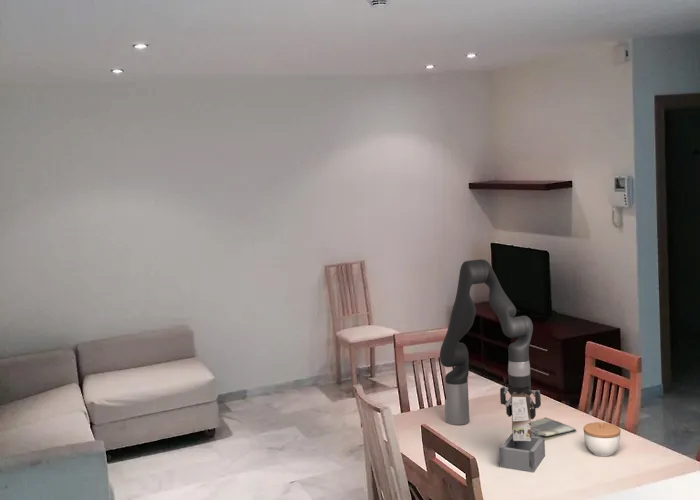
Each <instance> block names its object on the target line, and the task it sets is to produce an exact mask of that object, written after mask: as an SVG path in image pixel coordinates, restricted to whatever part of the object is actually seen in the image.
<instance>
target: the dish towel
mask: <svg viewBox="0 0 700 500" xmlns="http://www.w3.org/2000/svg"><path fill="white" fill-rule="evenodd" d="M576 432H577V429H576V428H574V427H573V426H570V425H569V424H564V423H562V422H560V421H557V420H554V419H551V418H548V417H542V418H539V419H536V420H531V436H536V437H544V438H545V441H548V440H552V439H556V438H558V437H563V436H567V435H570V434H575V433H576Z"/></svg>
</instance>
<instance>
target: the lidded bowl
mask: <svg viewBox="0 0 700 500" xmlns="http://www.w3.org/2000/svg"><path fill="white" fill-rule="evenodd" d="M583 436H584V437H583V438H584V441H585V442H584V443H585V444H586V447H587V448H588V449H589V450H590V452H591V453H592V454H593V455H595V456H599V457H611V456H613V455H614V453H615V452H616V451H617V450H618V448H619V447H620V442H621V428H620V427H619V426H618V425H616V424H613V423H609V422H601V421H599V422H590V423H587V424H585V425H584V426H583Z"/></svg>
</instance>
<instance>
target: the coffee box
mask: <svg viewBox="0 0 700 500" xmlns="http://www.w3.org/2000/svg"><path fill="white" fill-rule="evenodd" d="M510 397H511V410H512V415H511V428H512V433H513V441H531V421H532V419H531V416H530V409H531V408H530V397H531V395H527V394H525V395H520V394H513V393H511V395H510Z"/></svg>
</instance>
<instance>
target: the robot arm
mask: <svg viewBox="0 0 700 500" xmlns="http://www.w3.org/2000/svg"><path fill="white" fill-rule="evenodd" d="M459 269H460V270H459V275H458V281H457V289H456V295H455V299H454V304H453V306H452V310H451V314H450V318H449V323H448V327H447V331H446V334H445V337H444V340H443V342H442V345H441V347H440V351H439V361H440V363H441V365H442V366H443V367H446V368H452V367H453V369H452V370H450V371H448V373H446V374H445V378H444V379H445V380H444V381H445V398H446V399H444V414H445V415H444V416H445V423H448V424H450V425H454V426H461V425H463V426H464V425H467V424H468V423H470V420H471V419H470V404H469V403H470V402H469V401H470V400H469V381H468V380H469V379H468V378H469V361H470V359H469V356H470V355H469V350H468V347H467V346H466V344H465V343H464V342H460V341H461V339H462V338H463V337H465V335H466V334H467V333H469V331H470V329H471V328H472V326H473V325H474V322H475V317H476V313H477V309H476V305H475V303H474V300H473V298H472V297H471V294H470V293H471V292H470V291H471V287H472V286H473V285H480V284H485V285H486V286H487V287H488V289H489V293H488V303H489V307H490V308H491V309H492V311H493V312H494V313H495V315H496V316H497V318H498V320H499V324H500V326H501V327H500V328H501V330H502V333H503V334H504V336H505V337H507V338H510V339H515V338H517V339H516V340H515V341H514V342H511V343H510V344H509V345H508V346H507V350H508V351H507V352H508V364H507V373H508V387H505V386H503V385H502V387H500V390H499V392H500V393H499V395H500V397H499V398H500V404H501V405H504V406H505V410H506V411H505V412H506V413H505V414H506V415H507V417H511V418H512V410H511V393H513V394H520V395H525V394H527V395H530V416H531V420H534V419H535V418H536V415H537V414H536V413H537V412H536V411H537V410H536V409H539V408H540V407H541V405H542V403H541V402H542V399H541V390H540V389H537V390H535V389H534V390H533V389H532V387H531V386H532V385H531V384H532V383H531V382H532V381H531V364H530V354H529V353H530V352H529V351H530V350H529V349H530V345H531V340H532V336H533V332H534V324H533V322H532V319H531V318H530V317H528V315H518V316H516V315H517V308H516V307H515V305H514V303H513V302H512V300H511V299H510V298H509V297H508V295H507V294H506V292H505V291H504V289H503V288H502V286H501V284H500V281H499V279H498V277H497V274H496V273H495V271H494V269H493V267H492V265H491V264H490V262H489V261H488V260H486V259H482V258H481V259H473V260H465V261H464V262H463V263H462V264H461V266H460V268H459ZM507 393H509V395H510V397H509V398H508V399H507V395H506V394H507ZM531 395H532V396H533V397H534V400H535V402H534V401H533V398H532V397H531Z"/></svg>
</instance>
